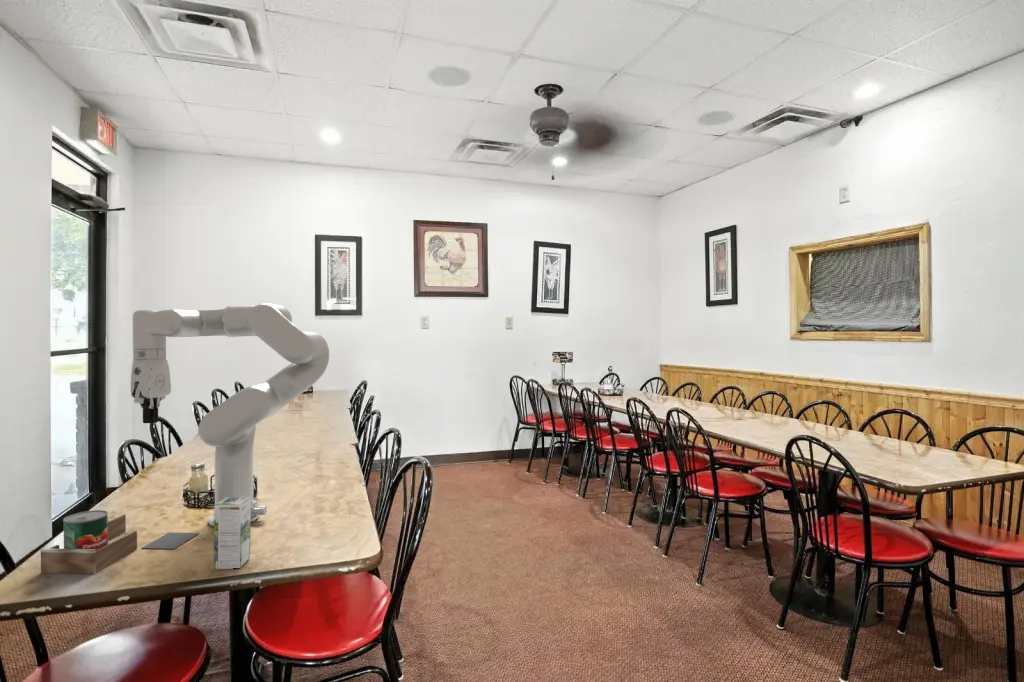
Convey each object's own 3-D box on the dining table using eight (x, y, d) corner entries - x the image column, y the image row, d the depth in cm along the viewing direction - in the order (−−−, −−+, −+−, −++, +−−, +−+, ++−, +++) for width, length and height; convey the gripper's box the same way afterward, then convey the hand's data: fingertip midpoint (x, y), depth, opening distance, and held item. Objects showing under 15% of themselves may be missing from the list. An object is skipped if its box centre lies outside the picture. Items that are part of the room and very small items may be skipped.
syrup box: (224, 559, 126) (224, 496, 125) (251, 558, 126) (251, 495, 126) (213, 570, 120) (212, 504, 120) (241, 569, 120) (240, 503, 120)
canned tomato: (80, 557, 126) (79, 510, 126) (116, 556, 127) (115, 509, 127) (54, 573, 118) (53, 522, 118) (93, 571, 119) (93, 521, 119)
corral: (167, 532, 142) (167, 513, 142) (93, 573, 118) (93, 550, 118) (123, 531, 142) (123, 512, 142) (40, 572, 118) (40, 549, 118)
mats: (199, 533, 141) (199, 533, 141) (149, 564, 123) (149, 563, 123) (110, 532, 142) (110, 531, 142) (47, 562, 123) (47, 561, 123)
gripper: (144, 357, 142) (144, 427, 142) (180, 354, 157) (181, 418, 157) (115, 356, 142) (116, 427, 142) (155, 354, 157) (155, 418, 157)
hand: (150, 422), depth 150 cm, fingers closed
